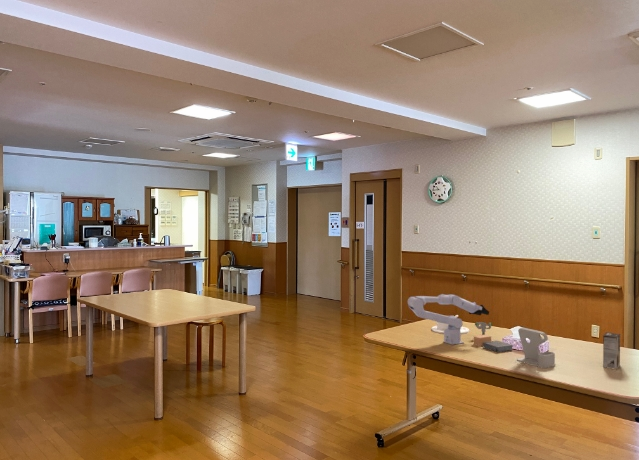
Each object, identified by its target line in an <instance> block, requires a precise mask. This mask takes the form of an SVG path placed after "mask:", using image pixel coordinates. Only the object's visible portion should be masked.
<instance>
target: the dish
mask: <svg viewBox="0 0 639 460" xmlns="http://www.w3.org/2000/svg"><path fill="white" fill-rule="evenodd" d="M451 316H454V315H451ZM454 317H456V318H458V317H459V315H458V314H456V315H455V316H454ZM445 329H448V324H445V323H441V322H437V321H436V325H434V326H432V327H431V331H433V332H434V333H438V334H443V335H444V331H445ZM468 333H470V329H469V327H466V326H462V327H461V335H464V334H468Z"/></svg>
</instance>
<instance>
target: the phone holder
mask: <svg viewBox="0 0 639 460" xmlns="http://www.w3.org/2000/svg"><path fill="white" fill-rule="evenodd" d="M517 331H518V336H519V340H520V343H521V346H522V350H523V351H522V352H523V355H524V356H523V357H520V358H519V357H518V358H517V359H516V361H517V362H520V363H524V364H528V365H532V366H534V367H537V366H538V368H541V367H542V369H548V368H552V367H551V366H553V367H555V365H556V359H555V358H556V357H555V356H556V355H555V352H553V351H544V352H541V351H540V348H539V347H540V345H543V344H544V343H546V342H547V341H548V340H549V337H548V334H547V333H546V332H544V331H540V330H536V329H531V328H526V327H524V326H523V327H520V328H518V330H517ZM541 335H542V336H541ZM527 339H528V340H529V342H528V340H527ZM547 367H548V368H547Z"/></svg>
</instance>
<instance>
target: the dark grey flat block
mask: <svg viewBox="0 0 639 460" xmlns="http://www.w3.org/2000/svg"><path fill="white" fill-rule="evenodd" d="M482 347H483V348H484V349H486V350H489V351H491V352H494V353H495V352H496V353H503V352H510V351H513V347H514V346H513V344H510V343H507V342H504V341H499V340H493V341H492V340H491V341H490V342H483V346H482Z"/></svg>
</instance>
